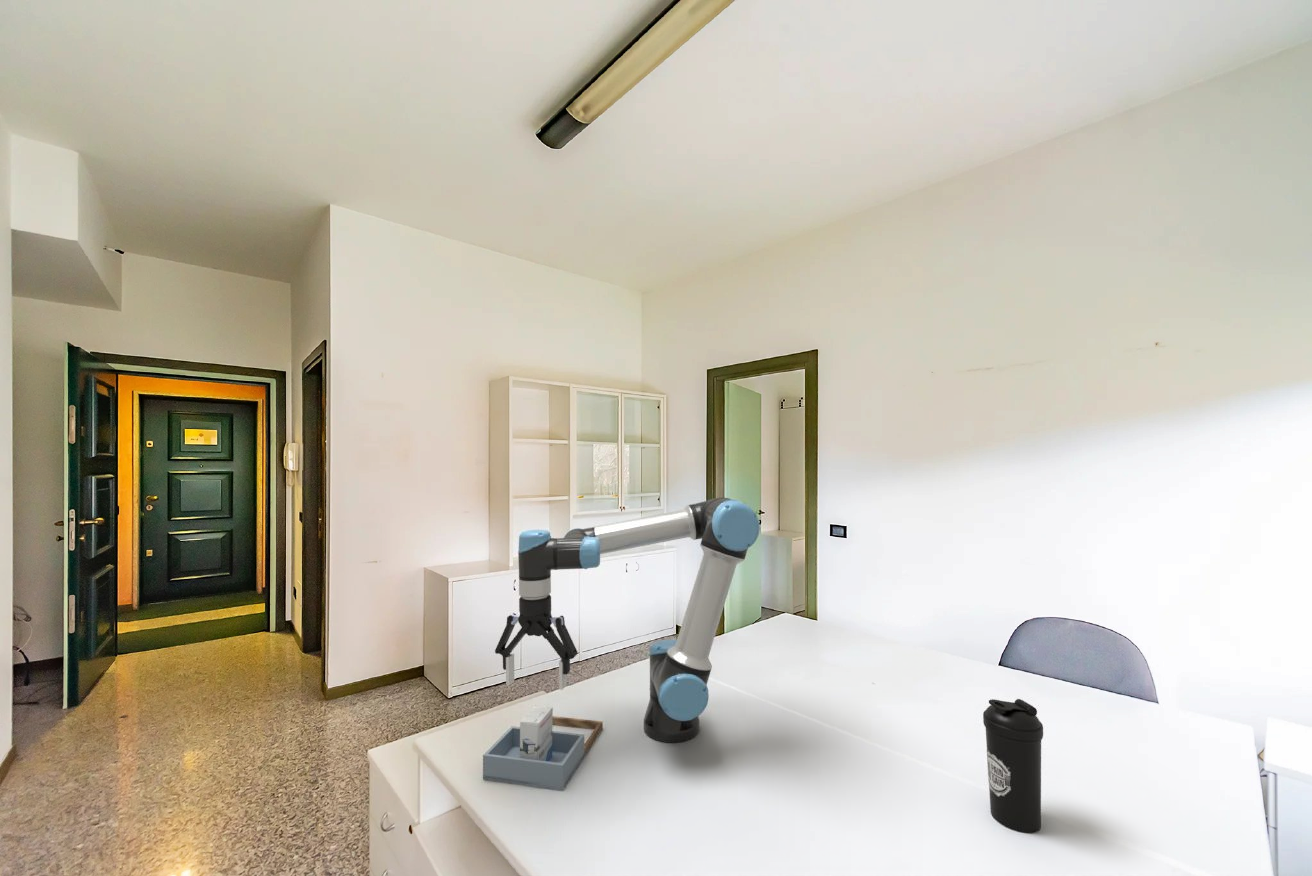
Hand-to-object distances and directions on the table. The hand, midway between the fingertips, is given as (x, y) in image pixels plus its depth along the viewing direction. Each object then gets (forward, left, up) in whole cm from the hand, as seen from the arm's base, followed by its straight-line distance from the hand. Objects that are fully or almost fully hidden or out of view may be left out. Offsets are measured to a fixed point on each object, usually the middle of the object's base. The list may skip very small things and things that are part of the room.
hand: (536, 685), depth 129 cm
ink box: (0, 0, -19) cm, 19 cm away
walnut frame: (0, -14, -19) cm, 24 cm away
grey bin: (0, 0, -19) cm, 19 cm away
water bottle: (-103, -4, -20) cm, 105 cm away
